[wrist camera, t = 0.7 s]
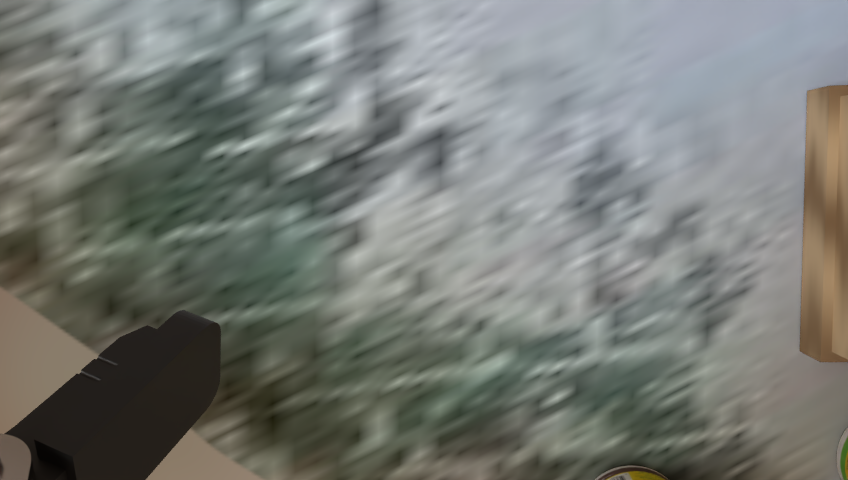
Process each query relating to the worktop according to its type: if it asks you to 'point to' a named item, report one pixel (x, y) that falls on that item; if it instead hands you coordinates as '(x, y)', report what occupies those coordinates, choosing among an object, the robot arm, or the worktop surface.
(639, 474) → the supplement bottle
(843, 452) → the supplement bottle
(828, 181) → the stand
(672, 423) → the worktop surface
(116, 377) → the robot arm
